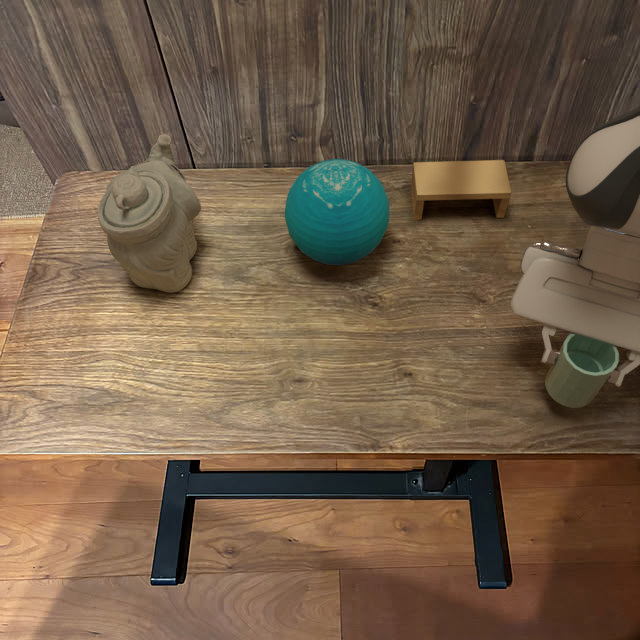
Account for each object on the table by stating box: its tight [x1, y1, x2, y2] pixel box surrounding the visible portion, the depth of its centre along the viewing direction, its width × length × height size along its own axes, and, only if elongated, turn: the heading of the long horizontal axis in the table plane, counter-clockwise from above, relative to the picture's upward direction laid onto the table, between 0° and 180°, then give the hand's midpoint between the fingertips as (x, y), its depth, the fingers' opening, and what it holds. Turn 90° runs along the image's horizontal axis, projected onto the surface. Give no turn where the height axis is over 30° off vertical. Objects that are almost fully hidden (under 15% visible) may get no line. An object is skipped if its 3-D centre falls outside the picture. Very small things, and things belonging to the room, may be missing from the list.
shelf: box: [410, 159, 512, 221], centre depth 97 cm, size 14×7×6 cm, turn 90°
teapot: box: [97, 133, 202, 293], centre depth 88 cm, size 16×15×19 cm
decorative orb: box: [284, 158, 390, 266], centre depth 89 cm, size 15×15×15 cm
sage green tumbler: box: [544, 332, 620, 409], centre depth 74 cm, size 6×6×9 cm
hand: (579, 373), depth 74 cm, fingers closed on sage green tumbler, 6 cm apart
